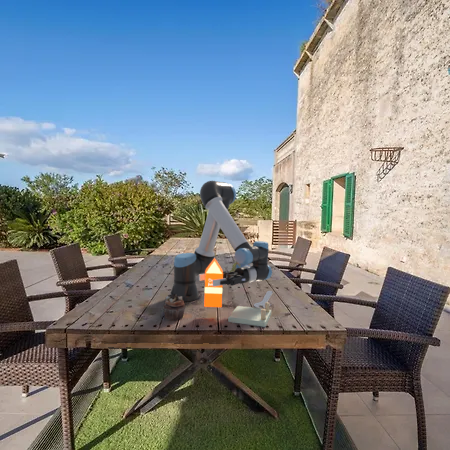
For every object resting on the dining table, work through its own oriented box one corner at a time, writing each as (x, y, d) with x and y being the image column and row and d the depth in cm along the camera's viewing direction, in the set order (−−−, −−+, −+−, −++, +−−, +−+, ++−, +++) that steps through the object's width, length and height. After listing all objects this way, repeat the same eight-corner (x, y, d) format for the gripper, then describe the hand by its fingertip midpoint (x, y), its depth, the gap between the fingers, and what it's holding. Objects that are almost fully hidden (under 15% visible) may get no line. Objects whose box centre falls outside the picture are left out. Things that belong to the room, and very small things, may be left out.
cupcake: (189, 317, 129) (190, 294, 129) (172, 322, 122) (172, 299, 122) (175, 311, 136) (176, 290, 135) (158, 316, 129) (158, 294, 128)
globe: (246, 258, 201) (248, 256, 216) (225, 264, 204) (229, 261, 218) (252, 277, 201) (253, 273, 215) (231, 282, 203) (233, 278, 218)
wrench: (252, 308, 144) (252, 306, 144) (262, 291, 175) (262, 290, 175) (269, 310, 142) (269, 308, 142) (277, 293, 172) (277, 291, 172)
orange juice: (221, 300, 134) (223, 257, 133) (221, 307, 126) (223, 261, 124) (204, 300, 134) (206, 257, 133) (203, 306, 125) (205, 260, 124)
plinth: (228, 321, 125) (228, 307, 125) (237, 309, 140) (238, 297, 140) (265, 326, 120) (266, 312, 120) (271, 314, 135) (271, 301, 135)
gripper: (261, 288, 131) (221, 295, 118) (229, 277, 149) (192, 282, 136) (261, 271, 131) (221, 277, 117) (230, 263, 149) (192, 266, 135)
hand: (205, 280), depth 127 cm, fingers closed on orange juice, 10 cm apart
